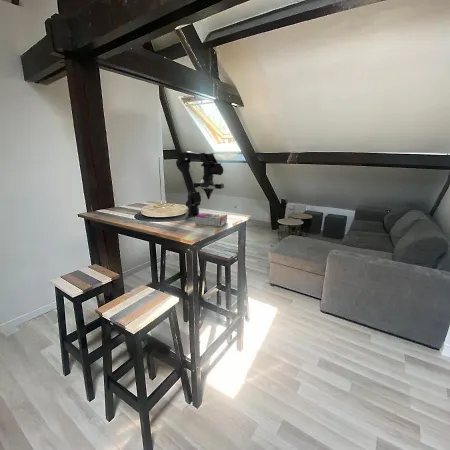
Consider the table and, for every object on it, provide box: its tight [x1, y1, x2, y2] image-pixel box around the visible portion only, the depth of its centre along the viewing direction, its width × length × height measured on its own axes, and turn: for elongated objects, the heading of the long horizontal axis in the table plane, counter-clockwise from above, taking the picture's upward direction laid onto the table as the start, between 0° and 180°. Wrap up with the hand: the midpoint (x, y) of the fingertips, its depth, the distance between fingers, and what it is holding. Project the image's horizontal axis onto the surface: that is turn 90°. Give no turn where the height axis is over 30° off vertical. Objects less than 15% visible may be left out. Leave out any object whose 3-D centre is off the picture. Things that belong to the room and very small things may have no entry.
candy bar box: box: [194, 212, 228, 228], centre depth 144 cm, size 11×5×16 cm
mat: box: [196, 224, 218, 228], centre depth 146 cm, size 12×13×1 cm
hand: (208, 199), depth 153 cm, fingers closed
